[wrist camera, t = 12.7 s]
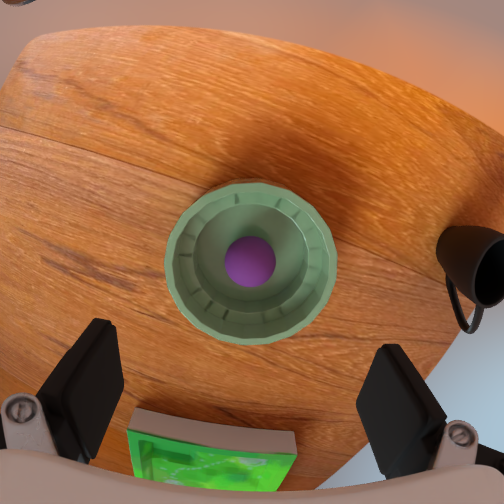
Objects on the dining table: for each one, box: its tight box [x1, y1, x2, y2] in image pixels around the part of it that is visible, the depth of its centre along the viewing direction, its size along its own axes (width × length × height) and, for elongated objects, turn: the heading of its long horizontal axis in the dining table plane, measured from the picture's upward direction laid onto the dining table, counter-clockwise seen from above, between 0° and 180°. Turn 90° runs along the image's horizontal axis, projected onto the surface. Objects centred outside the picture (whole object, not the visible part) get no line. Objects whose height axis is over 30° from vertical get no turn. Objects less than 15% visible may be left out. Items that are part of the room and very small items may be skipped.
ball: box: [225, 236, 276, 287], centre depth 30 cm, size 5×5×5 cm
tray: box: [127, 407, 297, 492], centre depth 43 cm, size 25×25×5 cm
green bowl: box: [164, 178, 337, 345], centre depth 30 cm, size 16×16×6 cm
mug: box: [436, 226, 504, 334], centre depth 29 cm, size 8×12×10 cm
